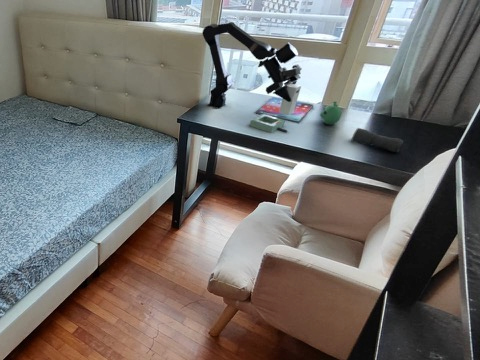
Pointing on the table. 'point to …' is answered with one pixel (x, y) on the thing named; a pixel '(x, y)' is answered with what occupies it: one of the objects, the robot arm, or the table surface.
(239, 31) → the robot arm
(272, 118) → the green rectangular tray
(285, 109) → the block
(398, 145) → the flashlight
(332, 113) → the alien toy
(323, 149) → the table surface
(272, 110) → the tablet
